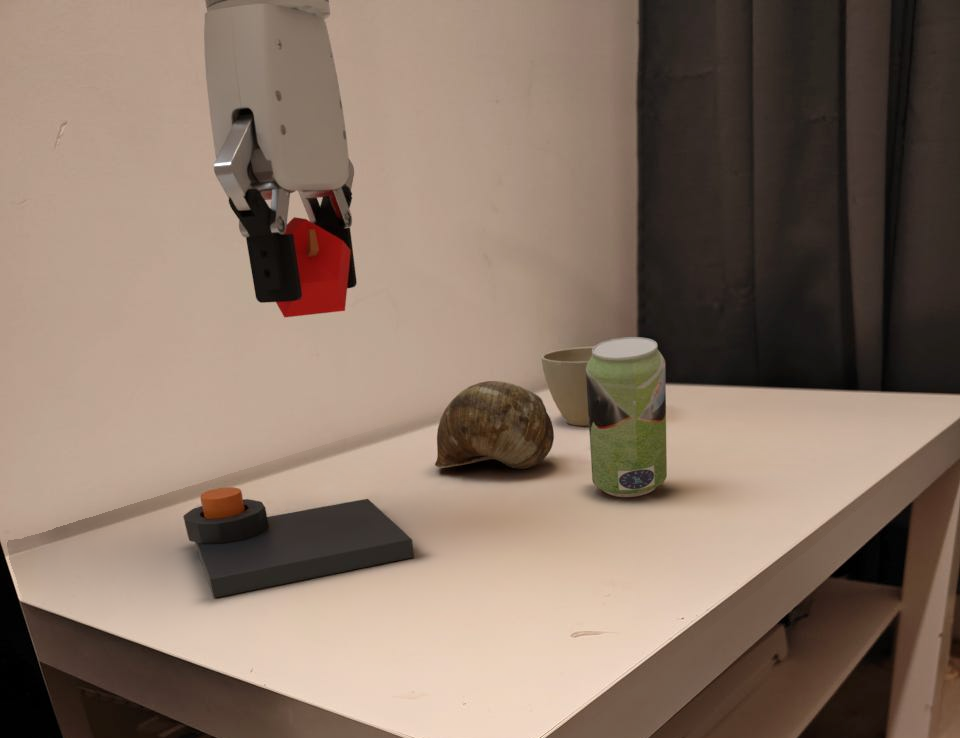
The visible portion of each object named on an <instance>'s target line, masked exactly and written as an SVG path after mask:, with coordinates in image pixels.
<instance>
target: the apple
mask: <svg viewBox="0 0 960 738" xmlns="http://www.w3.org/2000/svg"><path fill="white" fill-rule="evenodd" d="M285 234H293V235H294V242H295V249H296V256H297V263H298V270H299V277H300V284H301V290H302V297H301V299H300V300H296V301H286V302H275V303H276V305H277V307H278V309H279V311H280V312H281V314H282V316H283V317H284V318H292V317H302V316H311V315H319V314H330V313H337V312H339V313H340V312H346V304H347V294H348V288H347V284H348V274H349V263H350V253H351V250H350V249H349V247H348V246H347V245H346V244H345V243H344V241H343V240H341V239H339V238H338V237H336V236H334V235H333V234H331V233H329V232H327V231H326V230H324V229H322V228H320V227H319V226H317V225H315V224H314V223H312V222H310V220H309V219H306V218H301V217H295V216H294V217H293V218H291V219H290V220H289V221H288V222H287V226H286V232H285ZM283 235H284V234H283Z"/></svg>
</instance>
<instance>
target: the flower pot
mask: <svg viewBox="0 0 960 738" xmlns="http://www.w3.org/2000/svg"><path fill="white" fill-rule="evenodd" d="M593 348H594V346H579V347H569V348H568V347H567V348H561V349H557V350H552V351H548V352H546V353H543V354H542V355H541V357H540V359H541V365H542V370H543V374H544V378H545V381H546V385H547V388H548V390H549V393H550V395H551V398H552V400H553V402H554V403H555V406H556V407H557V409H558V411H559V413H560V414H561V416H562V418H563V419H564V420H565V422H566V423H567V424H568V425H573V426H578V427H579V426H580V427H581V426H582V427H589V416H588V399H587V383H586V366H587V363H588V361H589V360H590V358H591V356H592V354H593V353H592V349H593Z"/></svg>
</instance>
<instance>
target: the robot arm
mask: <svg viewBox="0 0 960 738" xmlns="http://www.w3.org/2000/svg"><path fill="white" fill-rule="evenodd" d="M204 1H205V8H206V12H204V29H203V35H204V36H203V38H204V39H203V40H204V41H203V42H204V64H205V65H204V67H205V78H206V80H205V81H206V90H207V98H208V108H209V117H210V125H211V132H212V141H213V146H214V155H215V161H214V164H213V171H214V175H215V177H216V178H217V181H218V182H219V184H220V186H221V187H222V189H223V191H224V192H225V194H226V196H227V197H228V204H229V206H230V209H231V210H232V211H233V213H234V215H235V216H236V218H237V219H238V229H239V233H240V234H241V236H242V237H243V238H245V240H246V247H247V252H248V258H249V264H250V270H251V276H252V277H251V278H252V282H253V289H254V294H255V299H256V301H257V302H259V303H260V304H261V303H262V304H263V303H264V304H265V303H276V302H286V301H296V300H300V299H301V297H302V290H301V284H300V277H299V270H298V263H297V256H296V249H295V242H294V235H293V234H285V232H286V226H287V224H288V216H289V208H290V207H289V206H290V198H291V194H294V193H295V192H298V195H299V197H300V200H301V203H302V204H303V207H304V210H305V212H306V215H307V217H308V221H310V222H312V223H314V224H315V225H317V226H319V227H320V228H322V229H324V230H326V231H327V232H329V233H331V234H333V235H334V236H336V237H338V238H339V239H341V240H343V241H344V243H345V244H346V245H347V246H348V247H349V249H350V250H351V253H350V263H349V274H348V284H347V289H352V288H355V287H356V286H357V273H356V266H355V256H354V249H353V240H352V233H351V227H352V225H353V217H352V213H351V210H350V207H351V204H352V199H353V192H352V187H353V182H354V176H355V168H354V164H353V162H352V161H351V159H350V158H349V147H348V139H347V130H346V124H345V116H344V110H343V103H342V97H341V92H340V86H339V85H340V84H339V80H338V75H337V69H336V64H335V59H334V54H333V50H332V49H333V48H332V44H331V40H330V35H329V32H328V26H327V23H326V20H327V19H328V18H329V17H330V16H331V8H330V1H329V0H204ZM318 198H319V199H320V198H322V199H321V201H320V203H319V200H318ZM267 201H270V206H269V204H268V203H267ZM283 234H284V235H283Z"/></svg>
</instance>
